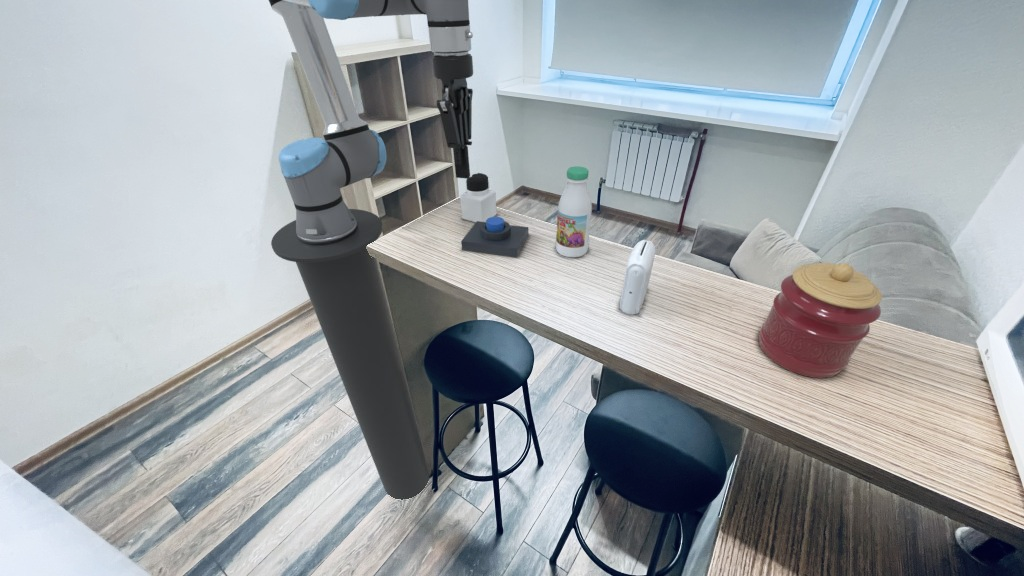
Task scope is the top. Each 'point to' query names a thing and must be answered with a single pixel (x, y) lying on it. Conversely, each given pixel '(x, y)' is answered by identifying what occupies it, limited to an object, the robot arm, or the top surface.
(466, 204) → the medicine bottle
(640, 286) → the photo printer
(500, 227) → the push top
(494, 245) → the button base
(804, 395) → the top surface
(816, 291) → the kitchen canister
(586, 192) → the milk bottle
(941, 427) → the top surface
